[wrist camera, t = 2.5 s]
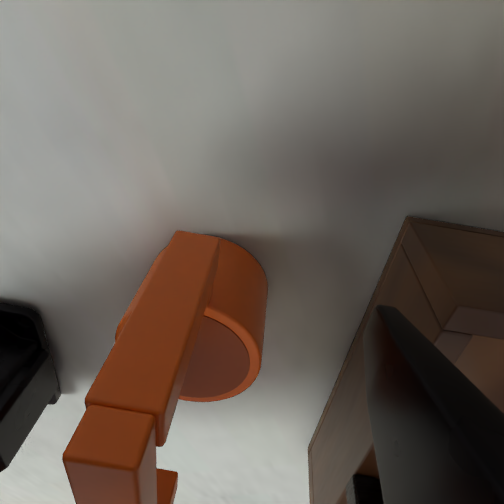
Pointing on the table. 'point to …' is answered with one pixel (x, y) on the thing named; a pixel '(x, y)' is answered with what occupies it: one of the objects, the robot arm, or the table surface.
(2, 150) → the table surface
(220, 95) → the table surface
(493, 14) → the table surface
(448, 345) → the basket
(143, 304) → the measuring cup
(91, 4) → the table surface
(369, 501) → the basket handle
